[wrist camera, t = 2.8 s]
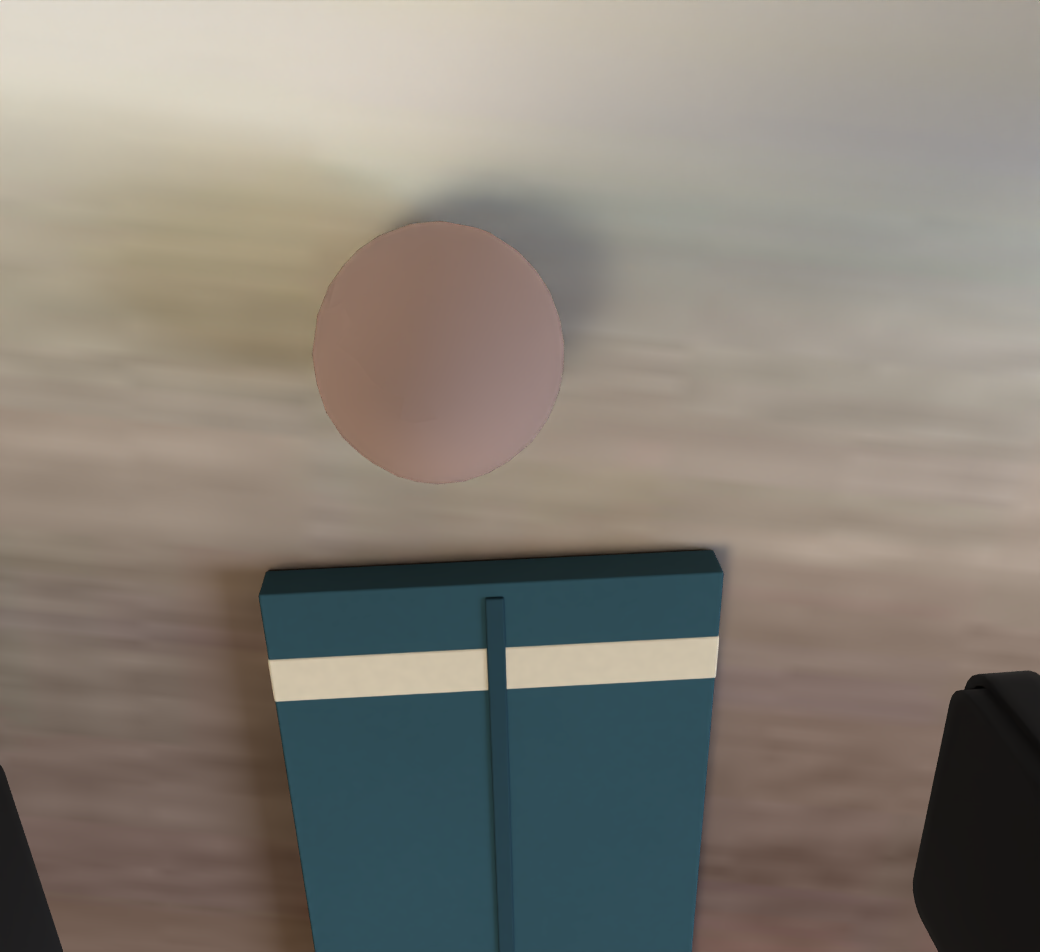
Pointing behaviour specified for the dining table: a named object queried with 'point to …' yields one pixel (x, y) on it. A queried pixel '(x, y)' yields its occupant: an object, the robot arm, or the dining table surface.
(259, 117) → the dining table surface
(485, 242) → the egg
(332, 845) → the towel
